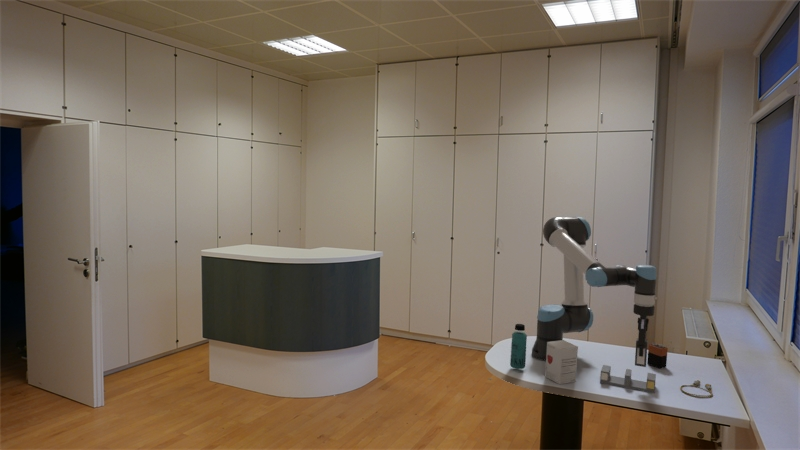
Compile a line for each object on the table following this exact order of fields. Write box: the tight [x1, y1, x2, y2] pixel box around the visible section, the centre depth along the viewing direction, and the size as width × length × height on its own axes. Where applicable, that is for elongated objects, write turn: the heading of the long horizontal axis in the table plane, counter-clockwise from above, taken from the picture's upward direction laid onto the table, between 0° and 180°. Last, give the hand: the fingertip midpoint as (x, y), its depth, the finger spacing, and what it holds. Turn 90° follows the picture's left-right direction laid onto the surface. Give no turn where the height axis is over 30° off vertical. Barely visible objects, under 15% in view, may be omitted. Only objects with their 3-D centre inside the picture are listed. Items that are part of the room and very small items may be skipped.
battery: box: [646, 342, 668, 369], centre depth 236 cm, size 4×7×10 cm, turn 27°
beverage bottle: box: [509, 323, 528, 370], centre depth 226 cm, size 6×7×20 cm
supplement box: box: [544, 339, 579, 385], centre depth 217 cm, size 9×9×15 cm
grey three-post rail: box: [599, 364, 657, 394], centre depth 213 cm, size 20×8×5 cm, turn 63°
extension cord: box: [679, 380, 714, 399], centre depth 209 cm, size 12×16×2 cm
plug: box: [634, 337, 649, 368], centre depth 210 cm, size 4×4×11 cm
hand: (640, 361), depth 211 cm, fingers closed on plug, 4 cm apart
